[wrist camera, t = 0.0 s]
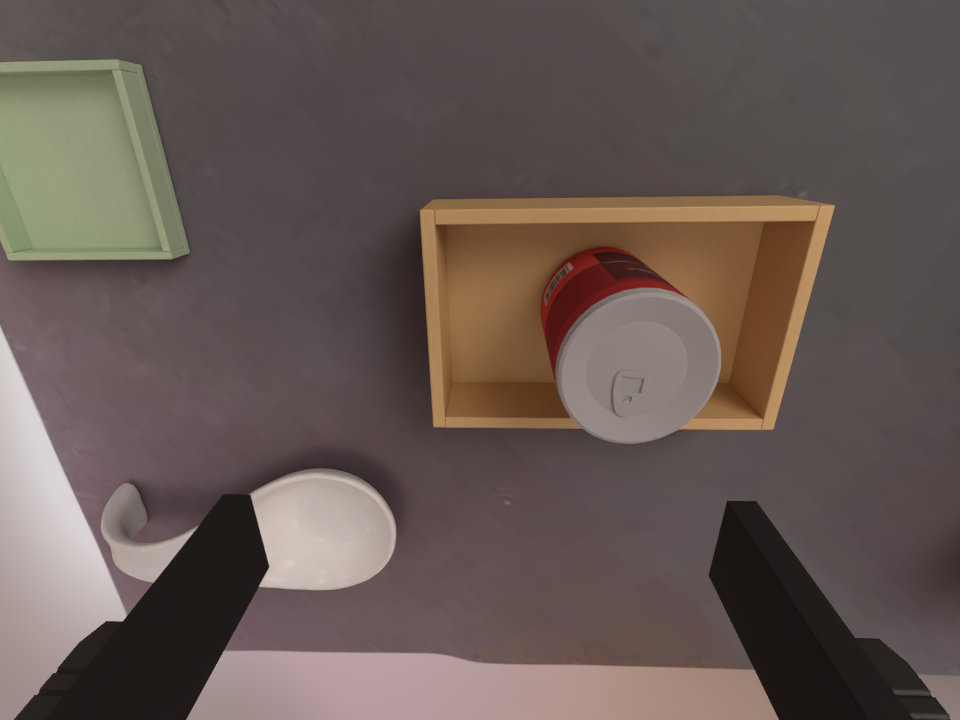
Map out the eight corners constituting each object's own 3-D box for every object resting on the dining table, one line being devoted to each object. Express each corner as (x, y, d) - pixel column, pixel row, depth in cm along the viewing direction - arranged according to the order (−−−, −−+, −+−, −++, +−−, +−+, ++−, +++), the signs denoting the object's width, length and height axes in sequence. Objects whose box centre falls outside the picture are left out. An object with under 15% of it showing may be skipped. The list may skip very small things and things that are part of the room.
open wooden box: (442, 388, 36) (433, 427, 31) (432, 199, 30) (419, 209, 25) (734, 389, 35) (773, 430, 30) (778, 195, 30) (835, 205, 25)
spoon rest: (396, 445, 38) (374, 506, 32) (409, 554, 43) (393, 627, 36) (111, 446, 39) (34, 506, 33) (155, 553, 44) (95, 624, 38)
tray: (-38, 69, 28) (-75, 63, 27) (141, 64, 28) (116, 59, 26) (35, 254, 33) (8, 260, 31) (190, 253, 32) (172, 259, 31)
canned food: (544, 363, 34) (562, 453, 24) (533, 252, 31) (549, 303, 21) (653, 350, 34) (718, 437, 24) (653, 236, 30) (729, 280, 20)
